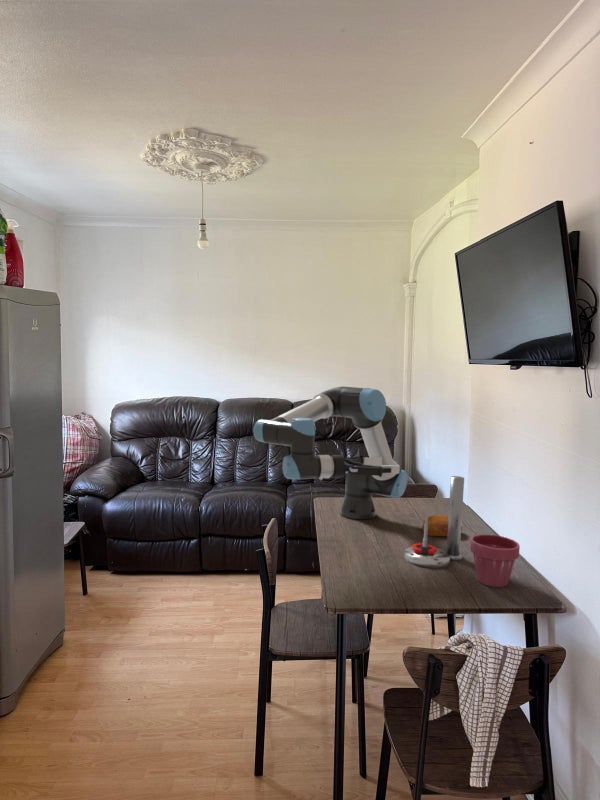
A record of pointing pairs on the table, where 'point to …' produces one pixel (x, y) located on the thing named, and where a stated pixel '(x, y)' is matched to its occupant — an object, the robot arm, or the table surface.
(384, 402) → the robot arm
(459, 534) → the paper towel holder
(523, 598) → the table surface
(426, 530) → the tow hook
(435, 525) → the croissant
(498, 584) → the plant pot
